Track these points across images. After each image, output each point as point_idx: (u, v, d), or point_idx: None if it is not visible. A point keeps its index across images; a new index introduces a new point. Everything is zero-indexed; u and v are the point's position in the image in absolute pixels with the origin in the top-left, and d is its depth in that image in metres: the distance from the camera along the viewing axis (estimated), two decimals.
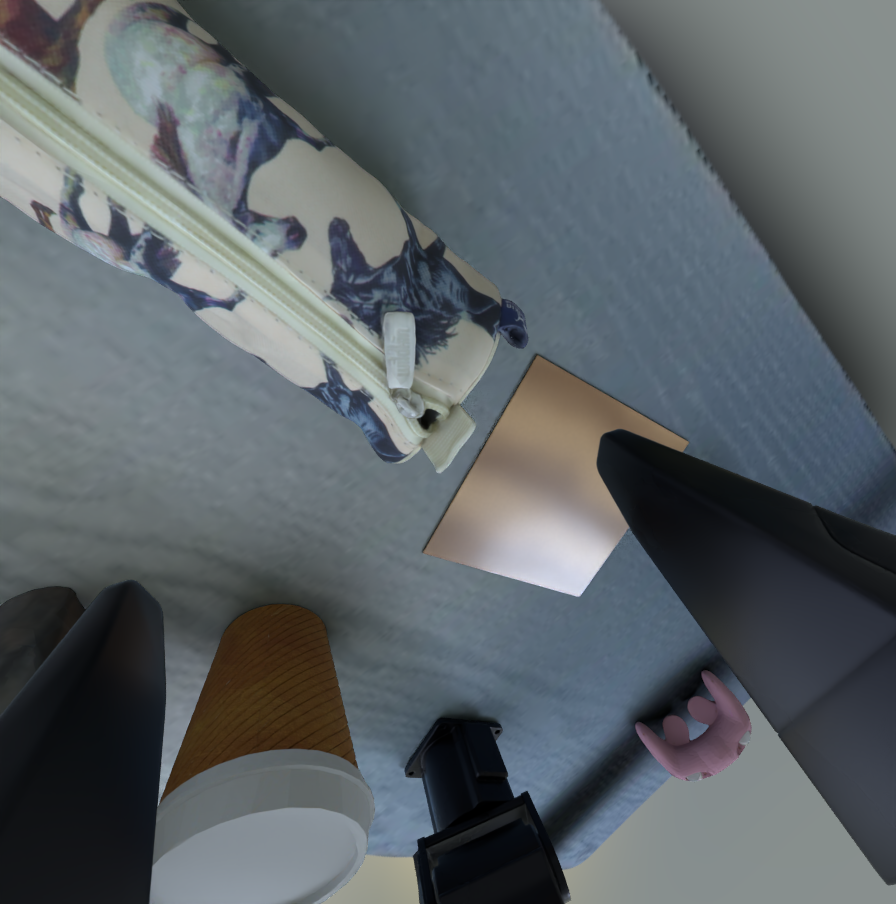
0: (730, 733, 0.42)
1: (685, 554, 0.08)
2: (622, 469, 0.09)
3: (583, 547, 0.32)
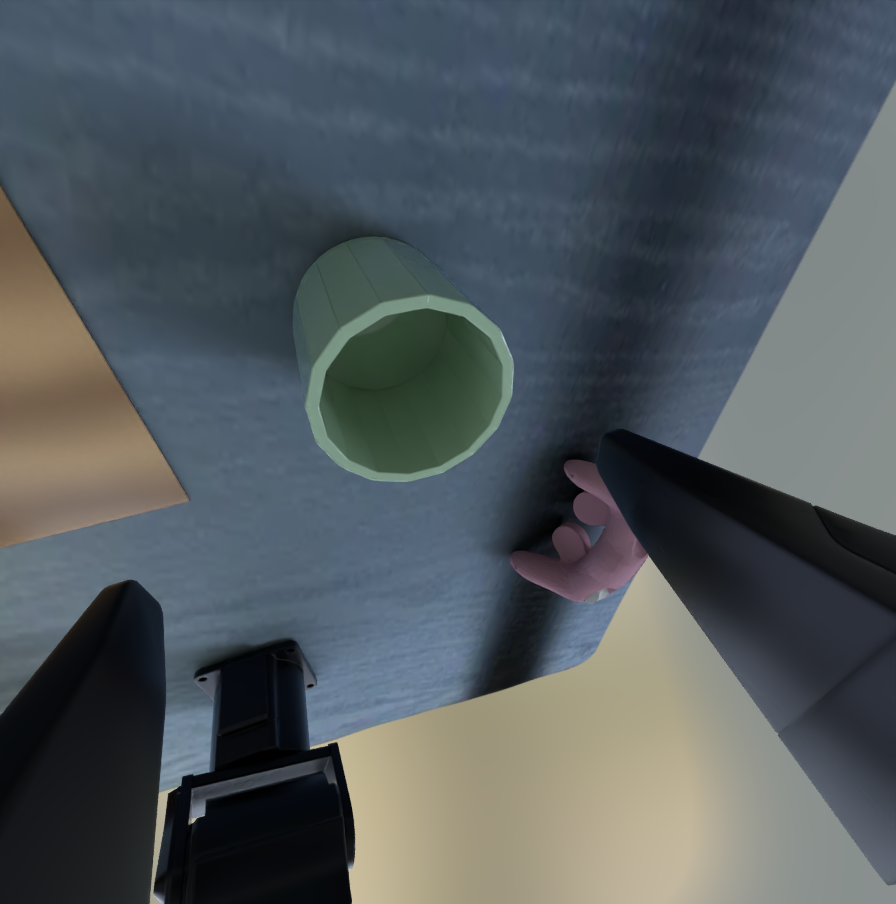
0: (619, 535, 0.27)
1: (685, 554, 0.08)
2: (622, 469, 0.09)
3: (77, 450, 0.18)
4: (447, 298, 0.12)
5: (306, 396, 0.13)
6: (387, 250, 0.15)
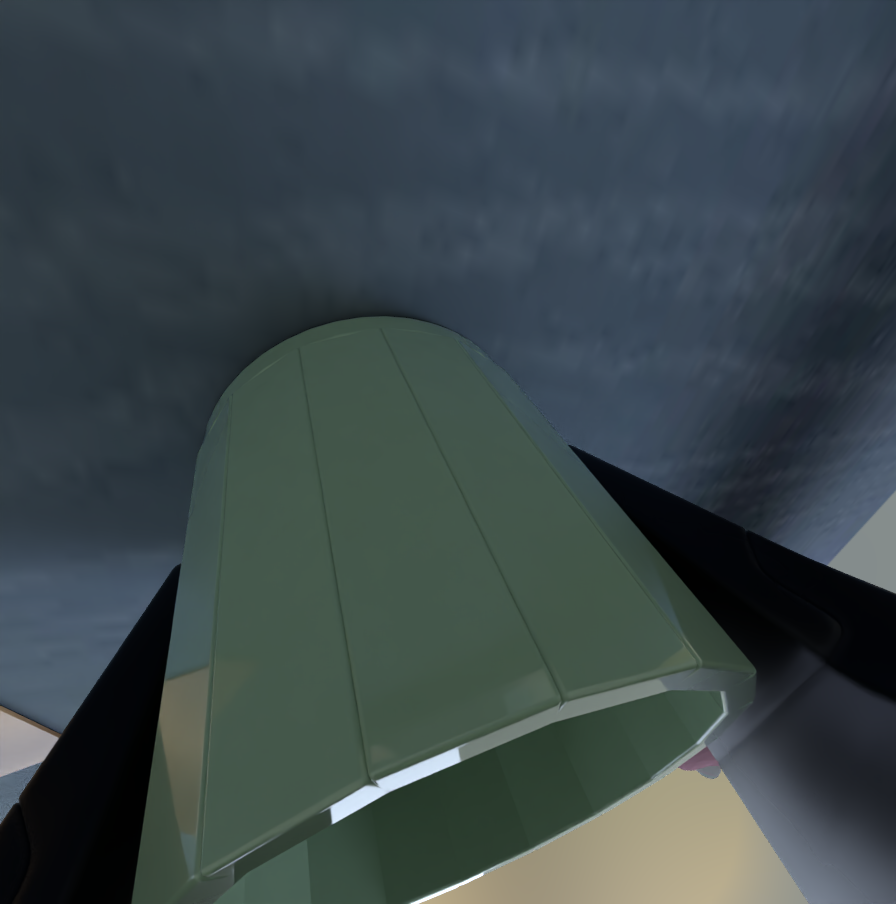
0: None
1: None
2: None
3: None
4: (628, 678, 0.03)
5: None
6: (391, 374, 0.06)
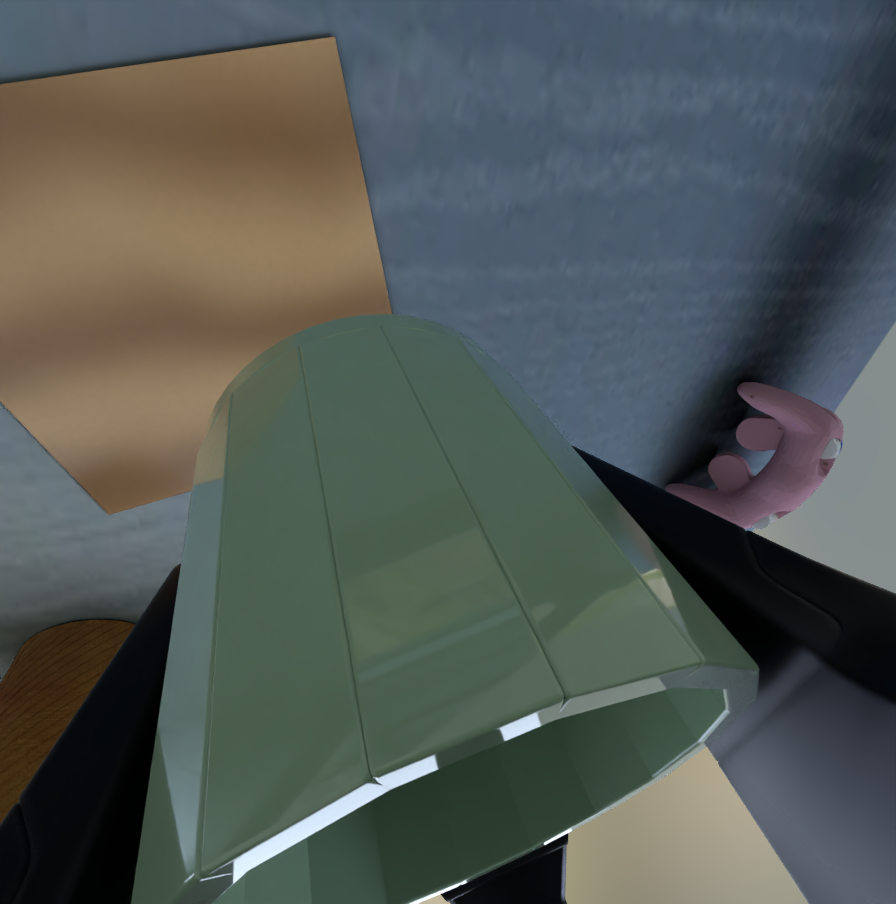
0: (801, 454, 0.27)
1: None
2: None
3: None
4: (631, 675, 0.03)
5: None
6: (391, 372, 0.06)
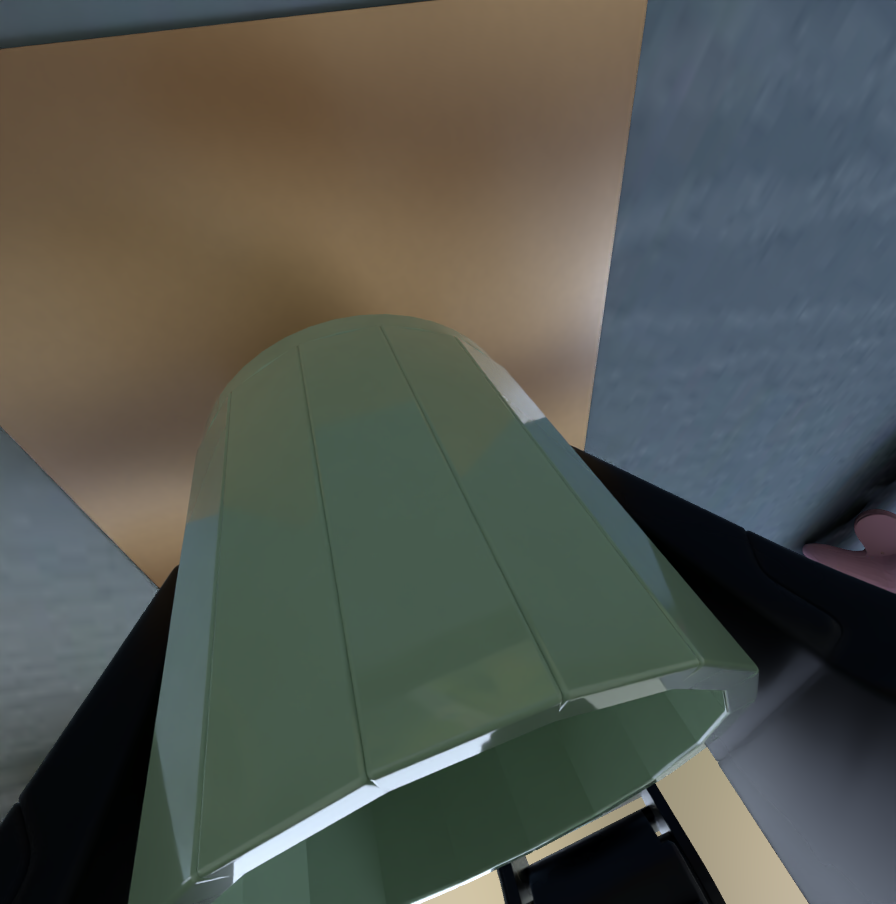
0: None
1: None
2: None
3: None
4: (629, 676, 0.03)
5: None
6: (390, 372, 0.06)
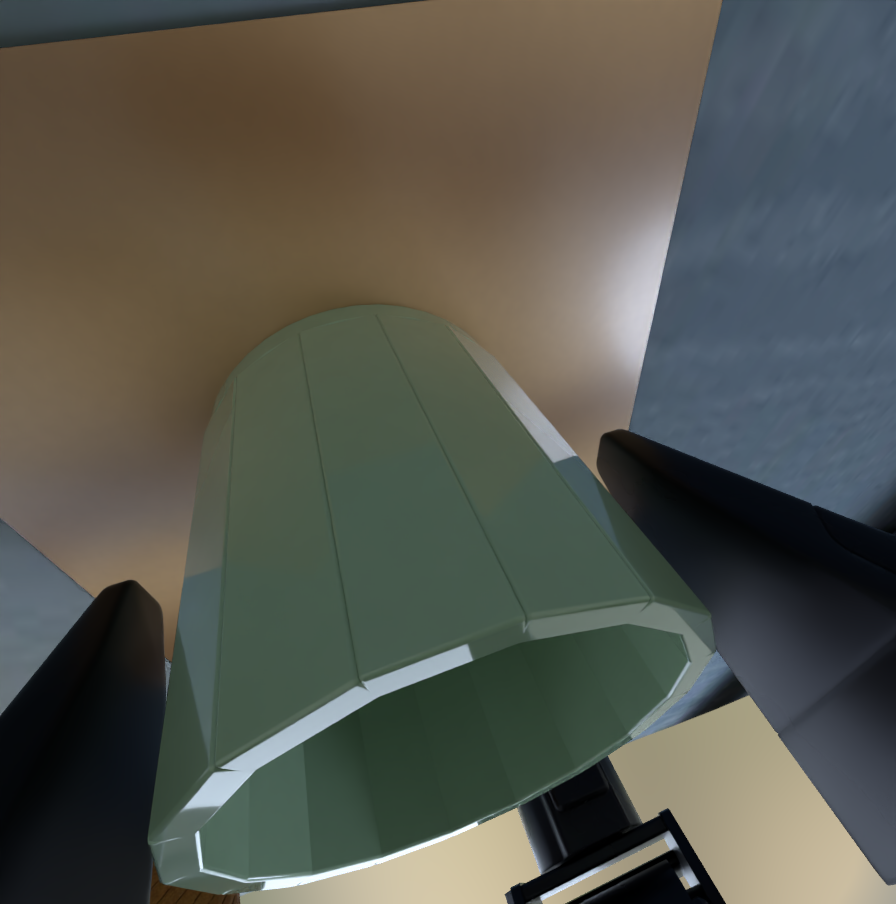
0: None
1: (685, 554, 0.08)
2: (622, 469, 0.09)
3: None
4: (586, 605, 0.04)
5: None
6: (384, 355, 0.07)
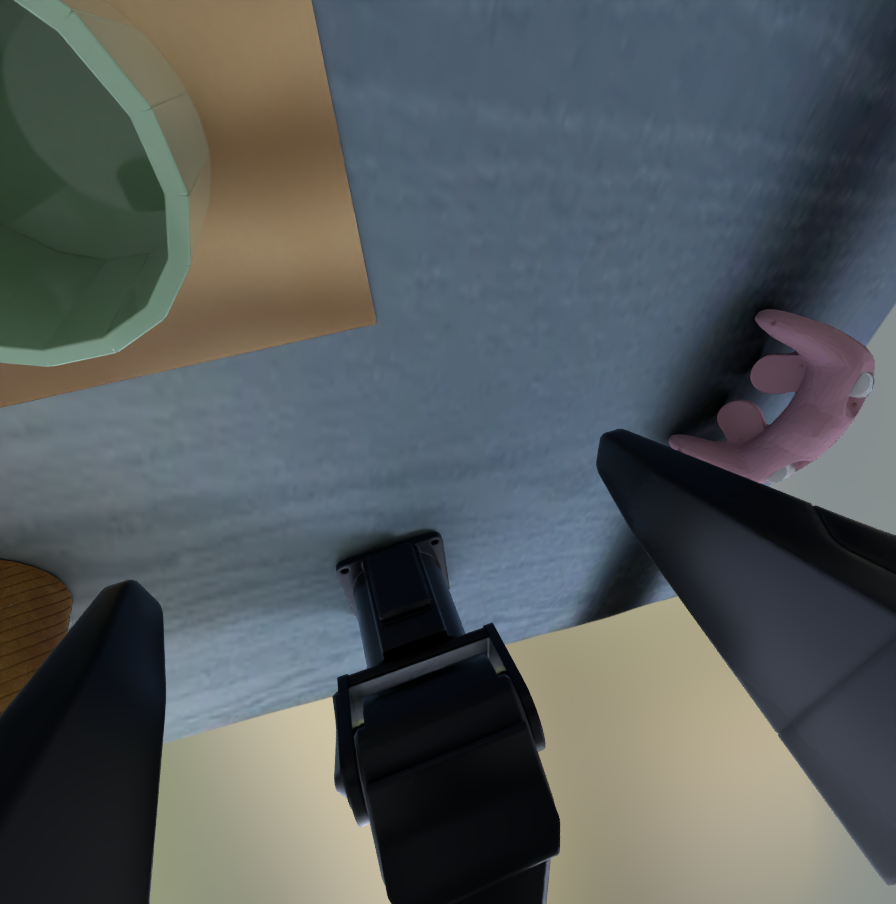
0: (828, 391, 0.23)
1: (685, 554, 0.08)
2: (622, 469, 0.09)
3: (275, 228, 0.15)
4: None
5: None
6: None
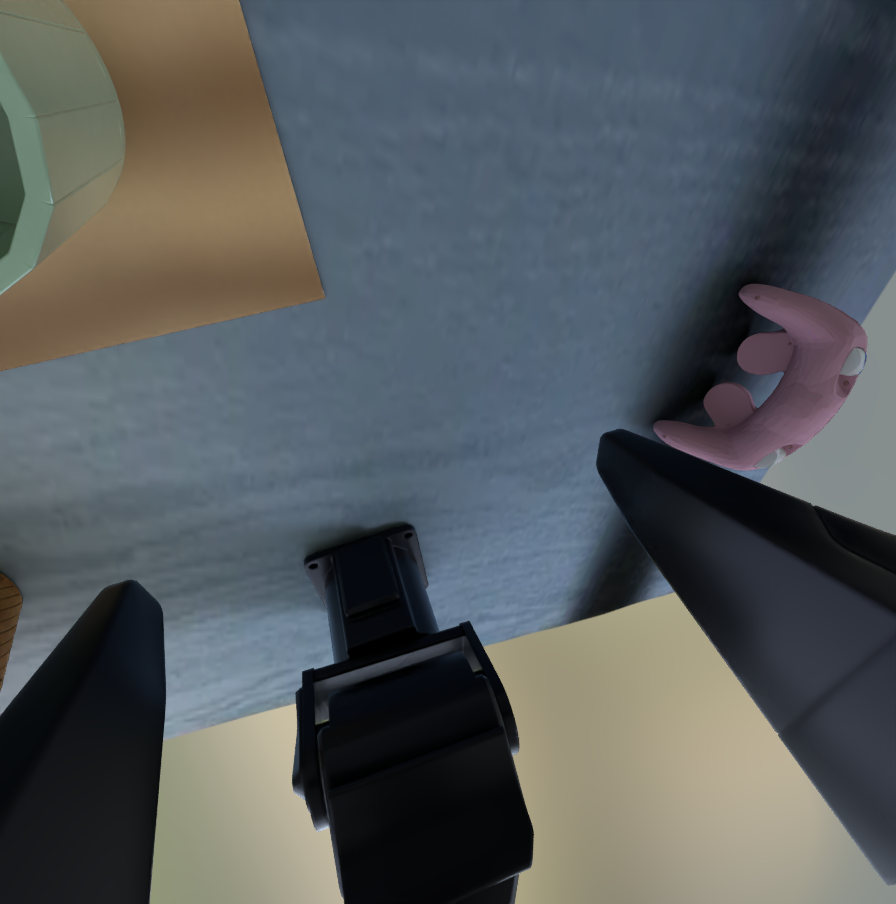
0: (817, 369, 0.22)
1: (685, 554, 0.08)
2: (622, 469, 0.09)
3: (203, 191, 0.14)
4: None
5: None
6: None
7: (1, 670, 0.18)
